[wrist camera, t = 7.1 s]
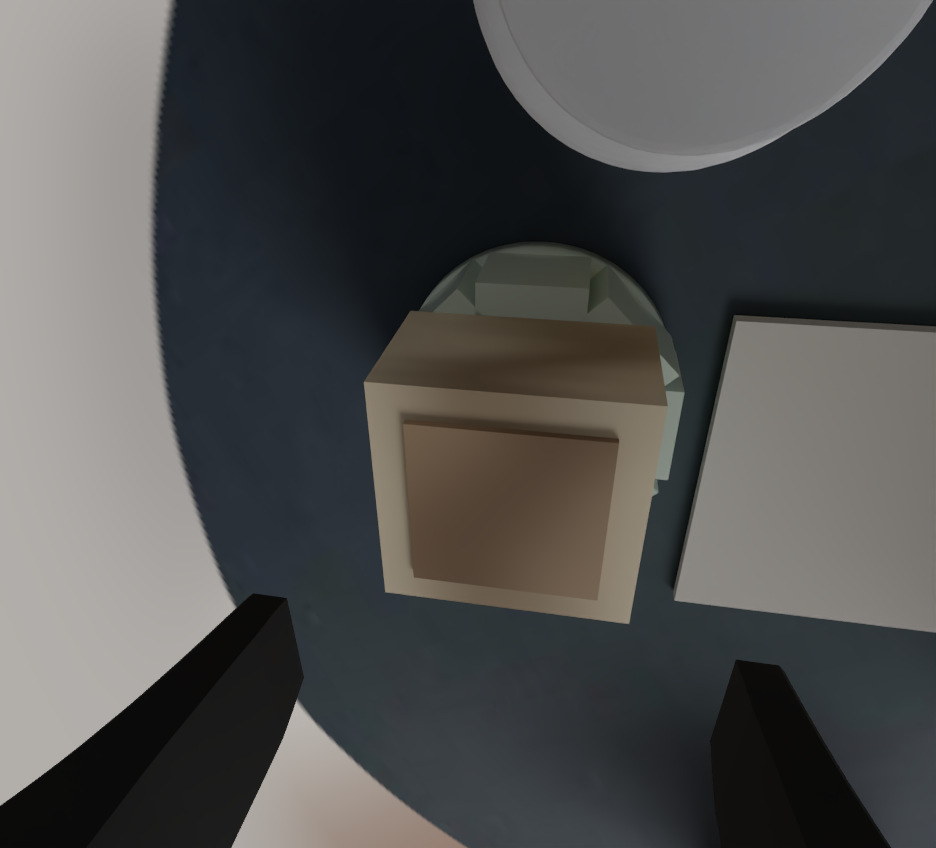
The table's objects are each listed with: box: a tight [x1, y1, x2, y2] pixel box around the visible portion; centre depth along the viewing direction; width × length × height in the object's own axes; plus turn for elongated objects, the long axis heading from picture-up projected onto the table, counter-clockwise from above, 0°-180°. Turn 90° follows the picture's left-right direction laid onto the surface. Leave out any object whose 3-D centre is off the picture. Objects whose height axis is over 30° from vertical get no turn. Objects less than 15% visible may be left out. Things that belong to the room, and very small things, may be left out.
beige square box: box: [364, 311, 668, 624], centre depth 15 cm, size 6×6×4 cm
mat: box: [673, 315, 936, 633], centre depth 19 cm, size 10×10×1 cm
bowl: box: [419, 241, 684, 496], centre depth 17 cm, size 7×7×3 cm
